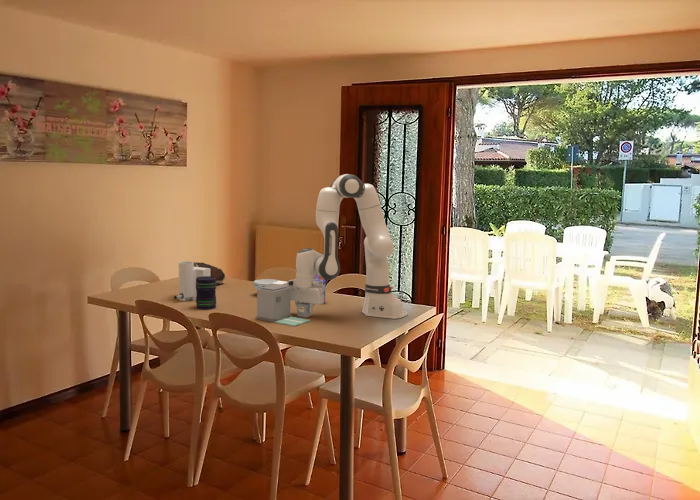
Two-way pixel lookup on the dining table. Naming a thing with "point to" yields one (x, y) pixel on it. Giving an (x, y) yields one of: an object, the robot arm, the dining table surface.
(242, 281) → the dining table surface
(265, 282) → the chinaware
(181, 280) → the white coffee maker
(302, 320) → the mat
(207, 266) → the clay pot
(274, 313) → the grey latched box
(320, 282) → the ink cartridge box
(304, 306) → the block
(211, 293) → the storage jar
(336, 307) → the dining table surface
